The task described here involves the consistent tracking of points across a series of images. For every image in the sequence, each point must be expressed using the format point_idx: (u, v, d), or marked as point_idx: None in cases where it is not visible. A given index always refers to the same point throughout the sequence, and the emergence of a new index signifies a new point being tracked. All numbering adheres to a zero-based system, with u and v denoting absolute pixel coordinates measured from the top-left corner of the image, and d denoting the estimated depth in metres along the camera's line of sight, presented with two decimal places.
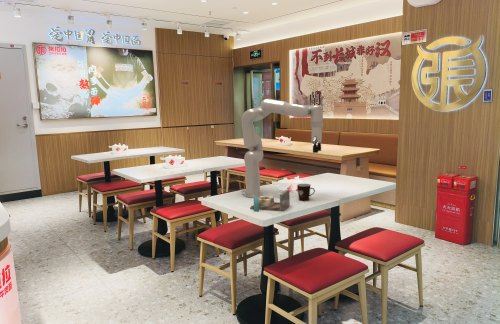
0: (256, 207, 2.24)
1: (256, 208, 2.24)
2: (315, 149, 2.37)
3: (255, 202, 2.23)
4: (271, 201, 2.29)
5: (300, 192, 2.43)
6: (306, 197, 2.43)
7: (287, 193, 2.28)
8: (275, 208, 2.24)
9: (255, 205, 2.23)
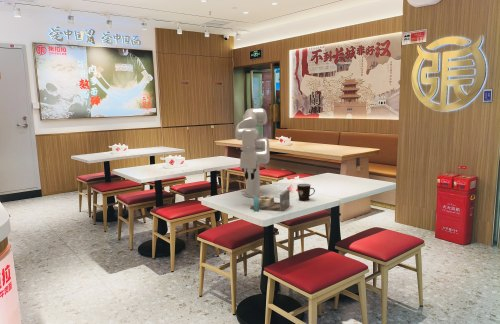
0: (256, 207, 2.24)
1: (256, 208, 2.24)
2: (253, 175, 2.33)
3: (255, 202, 2.23)
4: (271, 201, 2.29)
5: (300, 192, 2.43)
6: (306, 197, 2.43)
7: (287, 193, 2.28)
8: (275, 208, 2.24)
9: (255, 205, 2.23)
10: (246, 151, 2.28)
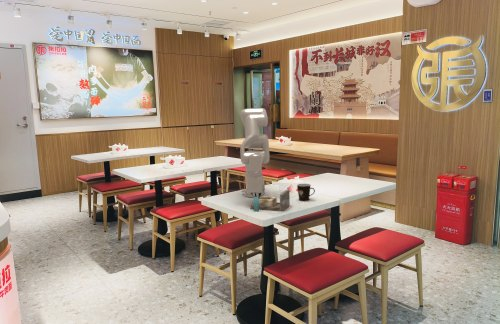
0: (256, 207, 2.24)
1: (256, 208, 2.24)
2: None
3: (255, 202, 2.23)
4: (273, 201, 2.29)
5: (300, 192, 2.43)
6: (306, 197, 2.43)
7: (287, 193, 2.28)
8: (275, 208, 2.24)
9: (255, 205, 2.23)
10: (253, 176, 2.28)
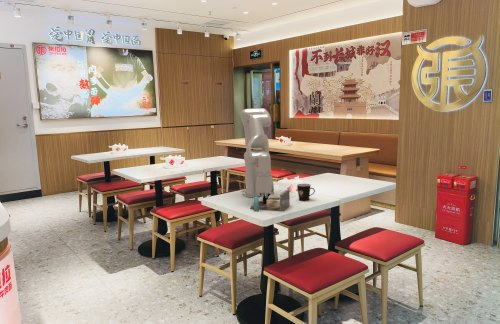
0: (256, 207, 2.24)
1: (256, 208, 2.24)
2: None
3: (255, 202, 2.23)
4: None
5: (300, 192, 2.43)
6: (306, 197, 2.43)
7: (287, 193, 2.28)
8: (275, 208, 2.24)
9: (255, 205, 2.23)
10: (262, 176, 2.26)
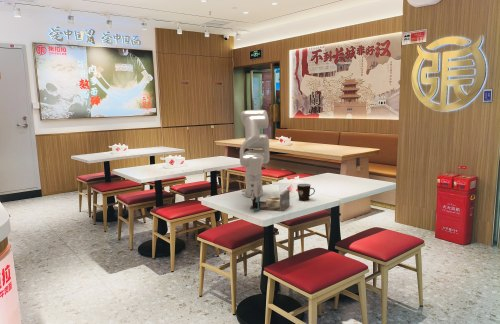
0: None
1: None
2: None
3: None
4: None
5: (300, 192, 2.43)
6: (306, 197, 2.43)
7: (287, 193, 2.28)
8: (275, 208, 2.24)
9: None
10: (261, 178, 2.21)
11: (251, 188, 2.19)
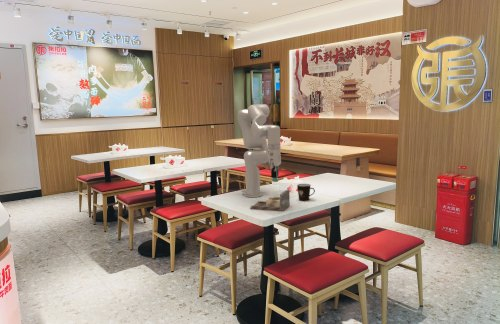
0: None
1: (275, 178, 2.26)
2: None
3: None
4: None
5: (300, 192, 2.43)
6: (306, 197, 2.43)
7: (287, 193, 2.28)
8: (275, 208, 2.24)
9: None
10: (280, 147, 2.23)
11: (270, 157, 2.21)
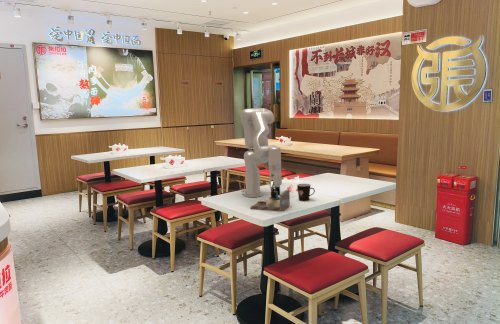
0: None
1: None
2: None
3: None
4: None
5: (300, 192, 2.43)
6: (306, 197, 2.43)
7: (287, 193, 2.28)
8: (275, 208, 2.24)
9: (274, 199, 2.28)
10: (280, 168, 2.25)
11: (271, 178, 2.23)
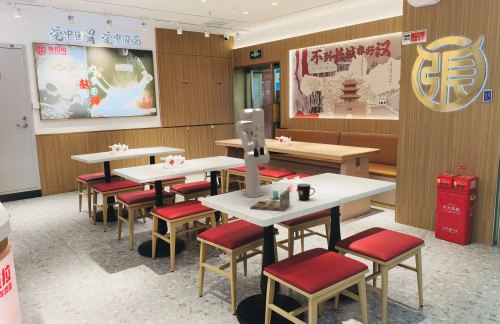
0: None
1: None
2: None
3: (275, 196, 2.28)
4: None
5: (300, 192, 2.43)
6: (306, 197, 2.43)
7: (287, 193, 2.28)
8: (275, 208, 2.24)
9: (275, 199, 2.28)
10: (263, 129, 2.35)
11: (254, 138, 2.33)
